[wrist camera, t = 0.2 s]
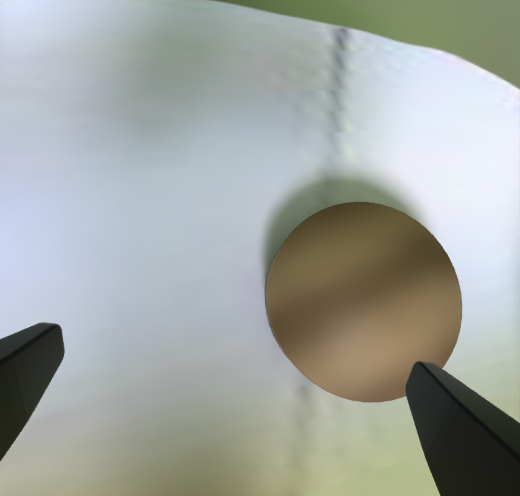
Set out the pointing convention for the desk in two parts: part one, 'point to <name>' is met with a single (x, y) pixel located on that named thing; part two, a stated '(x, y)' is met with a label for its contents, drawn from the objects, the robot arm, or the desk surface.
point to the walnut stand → (363, 300)
